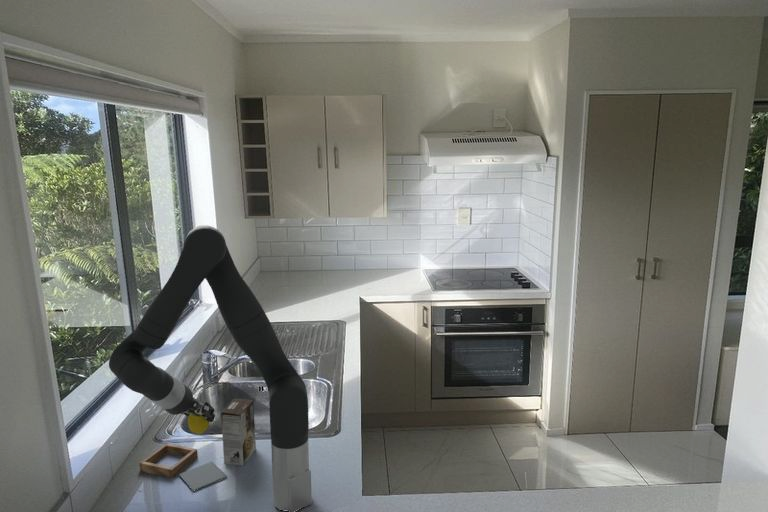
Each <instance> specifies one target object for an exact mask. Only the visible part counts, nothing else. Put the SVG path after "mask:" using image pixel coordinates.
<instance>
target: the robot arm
mask: <svg viewBox="0 0 768 512" xmlns="http://www.w3.org/2000/svg"><path fill="white" fill-rule="evenodd" d="M182 245H183V246H182V250H181V253H180V254H179V257H178V260H177V263H176V265H175V267H174V269H173V271H172V273H171V275H170V277H169V278H168V280H167V282H166V283H165V284H164V286H163V287H162V288H161V290H160V291H159V293H158V294H157V296H156V297H154V300H153V301H152V302H151V304H150V305H149V307H148V308H147V309H146V311H145V313H144V315H143V316H142V318H141V319H140V321H139V323H138V324H137V326H136V328H135V329H134V330H133V331H132V332H131V333H130V334H129V335H127V336H126V338H125V339H124V340H122V342H120V344H119V345H117V346H116V347H115V349H114V350H113V351H112V352H111V355H110V356H109V361H108V368H109V369H110V371H111V372H112V373H113V375H114V376H116V378H117V379H118V380H119V381H120V382H121V383H122V384H123V385H124V386H125V387H126V388H127V389H129V390H130V391H133V392H135V393H138V394H141V395H142V396H144V397H146V398H147V399H148V400H150V401H151V402H152V403H153V404H155V405H156V406H157V407H159V408H161V409H162V410H164V411H165V412H167V413H168V414H170V415H173V416H174V415H176V416H177V415H184V416H186V417H187V418H188V417H189V414H191V415H194V416H196V417H203V418H204V419H206V420H207V421H209V423H213V422H214V420H215V417H216V414H215V411H216V409H215V408H214V406H212V405H211V404H210V403H209V402H204V403H203V402H200V401H199V400H197V399H196V398H195V397H194V393H193V391H192V389H191V388H190V387H189V386H187V385H186V384H185V383H184V382H182V381H181V380H179V379H178V378H177V377H175V376H173V375H171V374H170V373H169V372H167V371H166V370H165V369H163V368H161V367H159V366H156V365H155V364H154V363H153V362H152V361H150V360H149V358H147V357H146V356H145V355H144V351H146V349H147V348H148V349H151V350H159V349H161V348H162V347H164V345H165V343H166V342H167V340H168V339H169V337H170V336H171V335H172V332H173V331H174V329H175V327H176V325H177V324H178V322H179V320H180V319H181V317H182V315H183V313H184V311H185V309H186V308H187V306H188V304H189V302H190V301H191V299H192V298H193V296H194V294H196V291H197V290H198V288H199V287H200V286H201V284H202V283H203V282H204V280H206V281H207V283H208V285H209V287H210V289H211V292H212V294H213V296H214V299H215V302H216V304H217V307H218V311H219V312H220V314H221V317H222V319H223V322H224V323H225V325H226V328H227V329H228V331H229V333H230V335H231V336H232V338H233V340H234V342H235V343H236V345H237V346H238V348H240V350H241V351H242V352H243V353H244V354H245V356H247V357H248V359H250V360H251V361H252V362H253V363H254V364H255V366H256V367H257V369H258V370H259V372H260V374H261V376H262V378H263V379H264V383H265V384H266V385H265V386H266V387H267V390H268V394H269V396H268V397H269V398H268V399H269V401H268V403H269V404H268V407H269V409H268V410H269V427H270V430H269V431H270V445H271V447H270V449H271V467H272V469H271V470H272V492H273V494H272V495H273V505H275V506H274V507H275V508H276V507H277V508H278V509H281V510H288V511H290V512H294V511H296V510H298V509H300V508H303V507H305V508H307V507H308V505H309V506H310V505H312V503H313V499H312V498H313V495H312V493H313V492H312V470H311V469H310V455H309V453H310V452H309V451H310V449H309V429H310V428H309V422H310V421H309V398H308V392H307V391H308V390H307V386H306V383H305V381H304V380H303V378H302V377H301V376H300V374H299V373H298V372H297V370H296V369H295V368H294V366H293V364H292V362H290V360H289V358H288V357H287V356H286V354H285V351H284V350H283V348H282V346H281V343H280V341H279V339H278V338H279V337H278V336H277V334H276V332H275V330H274V327H273V325H272V324H271V321H270V319H269V318H268V316H267V314H266V312H265V310H264V308H263V306H262V304H261V303H260V302H259V300H258V299H257V297H256V296H255V294H254V292H253V291H252V290H251V288H250V286H249V285H248V284H247V283H246V281H245V280H244V279H243V277H242V275H241V274H240V272H239V271H238V268H237V267H236V264H235V262H234V260H233V258H232V256H231V255H232V254H231V253H230V250H229V247H228V245H227V241H226V239H225V236H224V234H223V233H222V232H221V231H220V230H219V229H217V228H216V227H213V226H210V225H205V224H204V225H198V226H195V227H194V228H192V229H191V230H190V231H189V232H188V233H187V234H186V237H185V238H184V240H183V244H182ZM197 409H198V410H197ZM196 411H197V412H196ZM195 412H196V413H195ZM202 413H203V414H202ZM306 506H307V507H306ZM277 508H276V509H277ZM278 509H277V510H278ZM303 509H304V508H303Z"/></svg>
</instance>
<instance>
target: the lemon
mask: <svg viewBox="0 0 768 512" xmlns="http://www.w3.org/2000/svg"><path fill="white" fill-rule="evenodd" d="M197 410H198V409H197ZM196 412H197V411H196ZM196 412H195V413H196ZM202 414H203V413H202ZM187 425H188V428H189V430H190V431H191V433H194V434H197V435H202V433H204V432H205V431H207V429H208V428H209V425H210V422H209V421H207V420H206V419H204V418H203V417H196V416H194V415H191V414H189V417H187Z"/></svg>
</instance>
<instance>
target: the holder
mask: <svg viewBox="0 0 768 512" xmlns="http://www.w3.org/2000/svg"><path fill="white" fill-rule="evenodd" d="M166 454H169V455H175V456H181V457H182V458H181V459H179V460H178V461H177V462H176V463H175V464H174V465H172V466H167V465H162V464H158V463H156V462H157V461H159V460H160V459H162V458H163V457H164V456H165V455H166ZM162 456H163V457H162ZM198 457H199V454H198V449H197V448H193V447H187V446H181V445H178V444H171V443H167V442H166V443H164V444H162V445H161V446H160V447H159V448H157V449H156V450H155V451H154V452H152V453H151V454H149V455H148V456H147V457H145V458H144V459H143V460H140V462H139V463H138V464H139V471H140V472H142V473H143V472H144V473H148V474H152V475H157V476H161V477H166V478H171V479H173V478H175V477H176V476H177V475H179V474H180V472H182V471H183V470H184V469H186V467H188V466H189V465H190V464H191V463H192V462H194V461H195V460H196V459H197V458H198ZM158 459H159V460H158Z"/></svg>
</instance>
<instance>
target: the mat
mask: <svg viewBox="0 0 768 512" xmlns="http://www.w3.org/2000/svg"><path fill="white" fill-rule="evenodd" d="M178 476H179V478H180V477H181V478H182V479H183V480H184V481H185V482H186V483H187V484H188V485H189V486H190V487H191V489H192V490H193V491H194V490H197V489H199V490H201V489H203V488H202V487H204V488H205V486H206V487H208V486H210V484H211V485H213V484H215V483H218V482H220V481H222V480H224V478H225V479H227V478H228V475H227V474H226V473H225V472H224V471H223V470H222V469H221V468H219V466H217V464H216V463H215V462H214V461H208V462H207V463H204V464H202V465H199V466H196V467H194V468H191V469H189V470H187V471H186V470H185V471H184V472H182V473H178ZM226 477H227V478H226ZM181 478H180V479H181ZM182 479H181V480H182ZM221 479H222V480H221ZM183 480H182V481H183ZM219 480H220V481H219ZM184 481H183V482H184ZM217 481H218V482H217ZM185 482H184V483H185ZM186 483H185V484H186ZM212 483H213V484H212ZM187 484H186V485H187ZM188 485H187V486H188ZM207 485H208V486H207ZM200 488H201V489H200ZM191 489H190V490H191ZM192 490H191V491H192ZM193 491H192V492H193ZM197 491H198V490H197ZM194 492H195V491H194Z"/></svg>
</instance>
